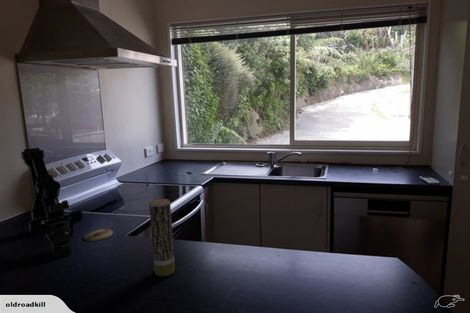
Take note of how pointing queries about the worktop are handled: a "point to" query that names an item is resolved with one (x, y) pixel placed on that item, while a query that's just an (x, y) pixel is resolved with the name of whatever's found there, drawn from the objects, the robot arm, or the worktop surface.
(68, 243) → the supplement bottle
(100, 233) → the cork trivet
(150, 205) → the pale patterned cylinder
